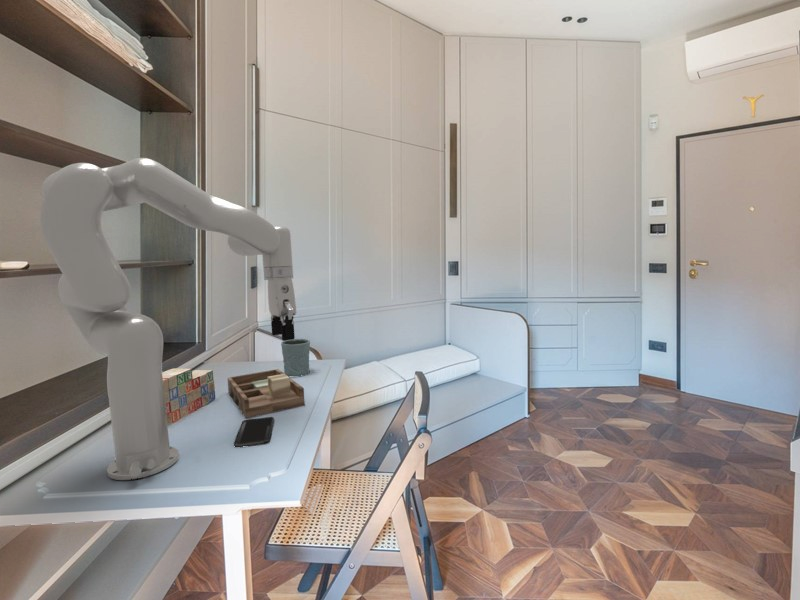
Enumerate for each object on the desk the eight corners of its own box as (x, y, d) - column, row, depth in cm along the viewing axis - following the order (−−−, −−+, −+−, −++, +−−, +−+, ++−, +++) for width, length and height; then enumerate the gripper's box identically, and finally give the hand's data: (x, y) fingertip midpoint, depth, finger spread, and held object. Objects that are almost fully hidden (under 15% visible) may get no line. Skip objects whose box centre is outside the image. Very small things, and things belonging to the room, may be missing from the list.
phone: (232, 445, 92) (242, 419, 107) (233, 449, 92) (243, 424, 107) (269, 440, 94) (274, 416, 109) (270, 445, 94) (275, 420, 109)
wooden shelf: (304, 405, 118) (303, 388, 118) (246, 418, 110) (244, 400, 109) (279, 383, 140) (278, 369, 140) (228, 393, 132) (227, 377, 131)
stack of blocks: (197, 399, 127) (194, 360, 126) (216, 399, 126) (212, 360, 125) (142, 427, 106) (137, 380, 105) (163, 428, 105) (159, 381, 104)
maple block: (290, 394, 120) (289, 377, 120) (273, 397, 118) (272, 380, 117) (285, 390, 125) (284, 373, 124) (268, 393, 122) (267, 376, 122)
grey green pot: (288, 370, 157) (286, 339, 156) (314, 369, 156) (312, 338, 155) (279, 378, 147) (277, 344, 146) (307, 377, 146) (305, 343, 145)
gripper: (303, 273, 106) (307, 340, 107) (283, 272, 120) (287, 331, 122) (273, 275, 102) (278, 344, 103) (256, 274, 116) (261, 334, 118)
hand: (283, 337), depth 113 cm, fingers open, 9 cm apart
